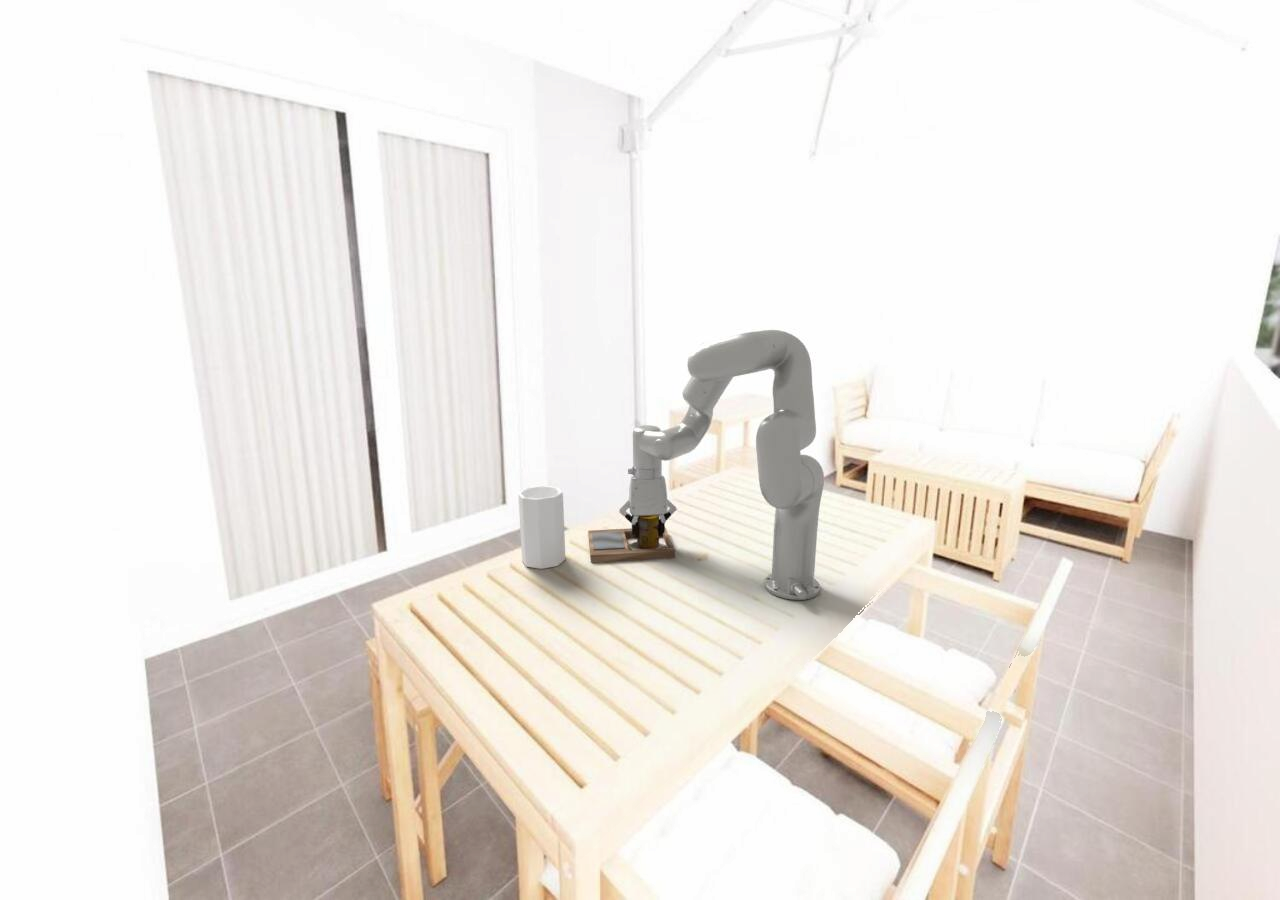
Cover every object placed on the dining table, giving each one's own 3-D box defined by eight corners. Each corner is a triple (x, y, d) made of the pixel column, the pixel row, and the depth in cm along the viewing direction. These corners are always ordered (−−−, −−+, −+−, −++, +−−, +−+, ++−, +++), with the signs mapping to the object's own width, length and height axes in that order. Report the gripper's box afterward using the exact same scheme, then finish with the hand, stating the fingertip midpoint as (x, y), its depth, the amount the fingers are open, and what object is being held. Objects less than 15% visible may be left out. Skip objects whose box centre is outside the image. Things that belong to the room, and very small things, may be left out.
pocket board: (675, 557, 156) (675, 549, 155) (590, 562, 153) (590, 554, 153) (665, 533, 172) (665, 525, 172) (588, 537, 170) (588, 529, 169)
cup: (513, 560, 155) (509, 492, 150) (547, 547, 163) (544, 482, 158) (540, 573, 147) (536, 502, 143) (574, 559, 155) (572, 491, 151)
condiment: (665, 545, 164) (665, 504, 161) (643, 554, 158) (643, 511, 155) (647, 538, 169) (647, 498, 166) (624, 546, 163) (624, 505, 160)
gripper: (615, 477, 154) (617, 543, 158) (682, 474, 156) (682, 539, 160) (614, 470, 161) (615, 532, 165) (677, 467, 163) (677, 529, 167)
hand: (648, 535), depth 163 cm, fingers closed on condiment, 6 cm apart
